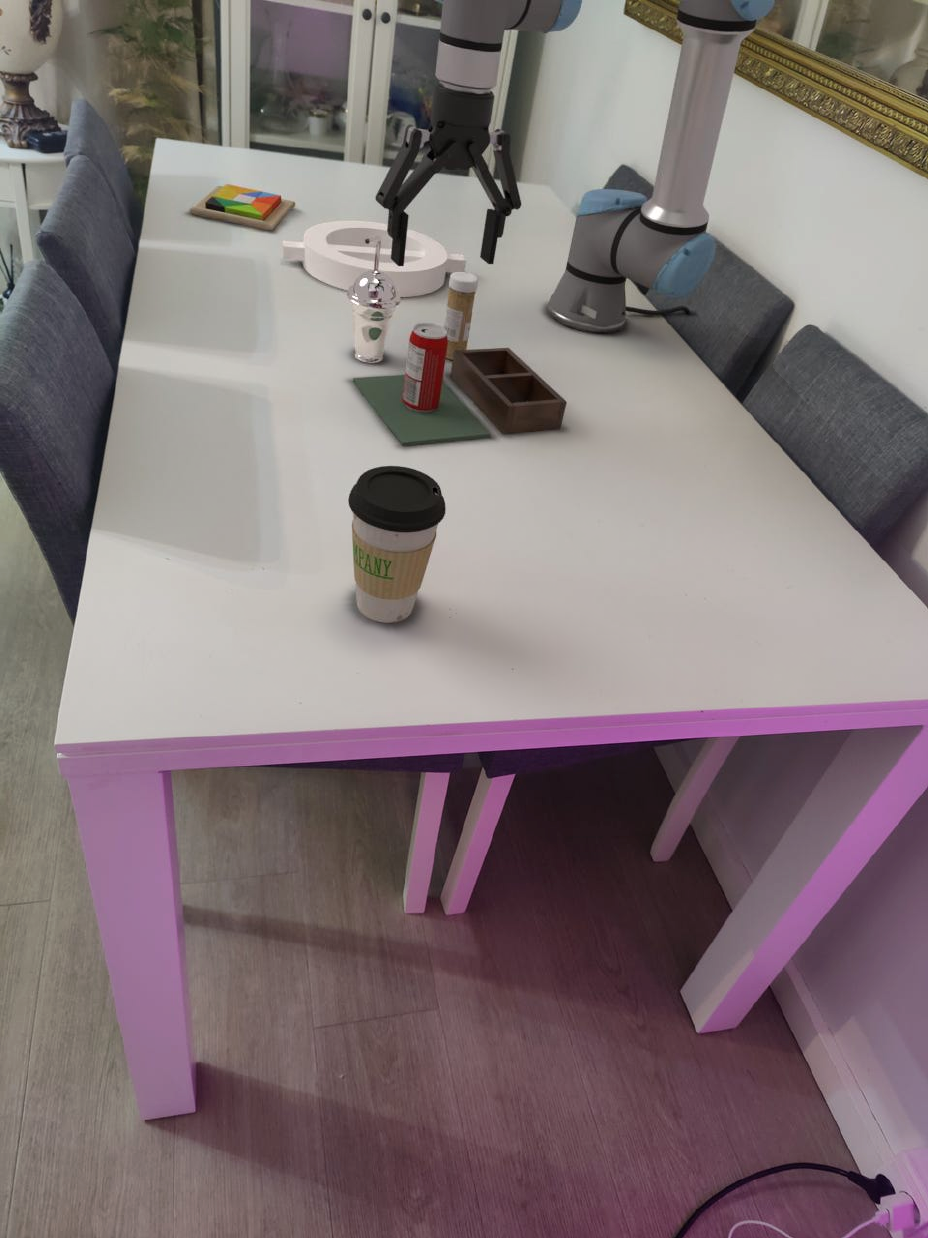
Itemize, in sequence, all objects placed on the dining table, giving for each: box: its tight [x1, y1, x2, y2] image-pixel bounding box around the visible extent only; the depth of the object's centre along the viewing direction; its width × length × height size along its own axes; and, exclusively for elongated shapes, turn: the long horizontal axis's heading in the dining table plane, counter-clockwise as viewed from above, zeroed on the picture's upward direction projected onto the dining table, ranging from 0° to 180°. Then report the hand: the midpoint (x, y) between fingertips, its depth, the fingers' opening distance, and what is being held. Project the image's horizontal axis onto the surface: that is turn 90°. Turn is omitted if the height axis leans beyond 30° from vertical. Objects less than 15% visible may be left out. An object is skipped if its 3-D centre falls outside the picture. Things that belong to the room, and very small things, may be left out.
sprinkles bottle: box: [443, 271, 479, 361], centre depth 149 cm, size 5×5×14 cm
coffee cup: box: [347, 465, 447, 624], centre depth 94 cm, size 10×10×15 cm
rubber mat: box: [352, 374, 492, 447], centre depth 136 cm, size 14×20×1 cm
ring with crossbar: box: [281, 220, 467, 298], centre depth 177 cm, size 28×28×5 cm
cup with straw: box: [346, 236, 402, 364], centre depth 141 cm, size 8×9×20 cm
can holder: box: [449, 347, 568, 435], centre depth 141 cm, size 10×19×4 cm, turn 25°
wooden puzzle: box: [188, 183, 296, 231], centre depth 192 cm, size 18×19×4 cm
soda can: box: [402, 322, 448, 413], centre depth 132 cm, size 6×6×12 cm
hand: (442, 261), depth 124 cm, fingers open, 13 cm apart
